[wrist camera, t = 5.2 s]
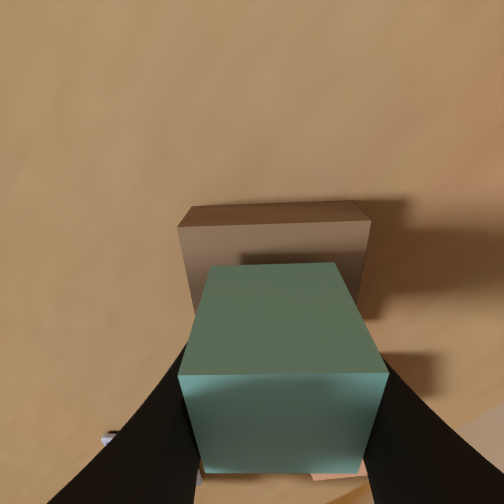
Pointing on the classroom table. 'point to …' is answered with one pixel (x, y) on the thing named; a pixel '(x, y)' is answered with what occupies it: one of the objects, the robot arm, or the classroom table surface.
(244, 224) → the walnut slab
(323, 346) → the teal cube
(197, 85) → the classroom table surface
